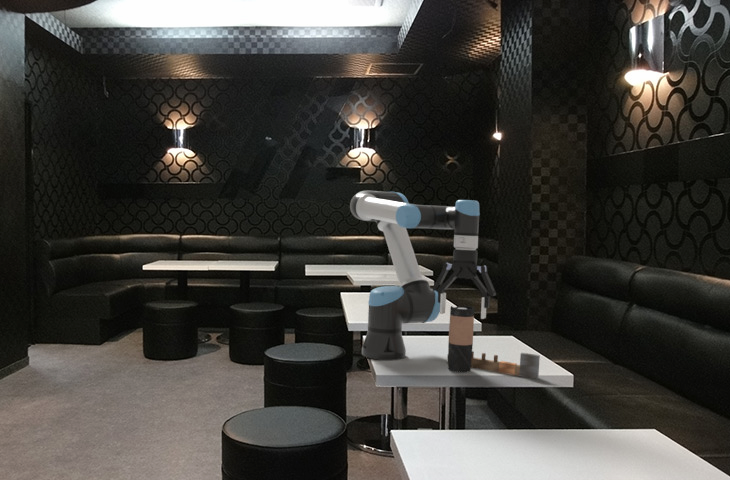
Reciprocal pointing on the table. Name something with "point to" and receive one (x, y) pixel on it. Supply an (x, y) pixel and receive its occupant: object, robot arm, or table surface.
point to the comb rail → (509, 365)
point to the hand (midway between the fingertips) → (462, 315)
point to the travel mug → (460, 338)
